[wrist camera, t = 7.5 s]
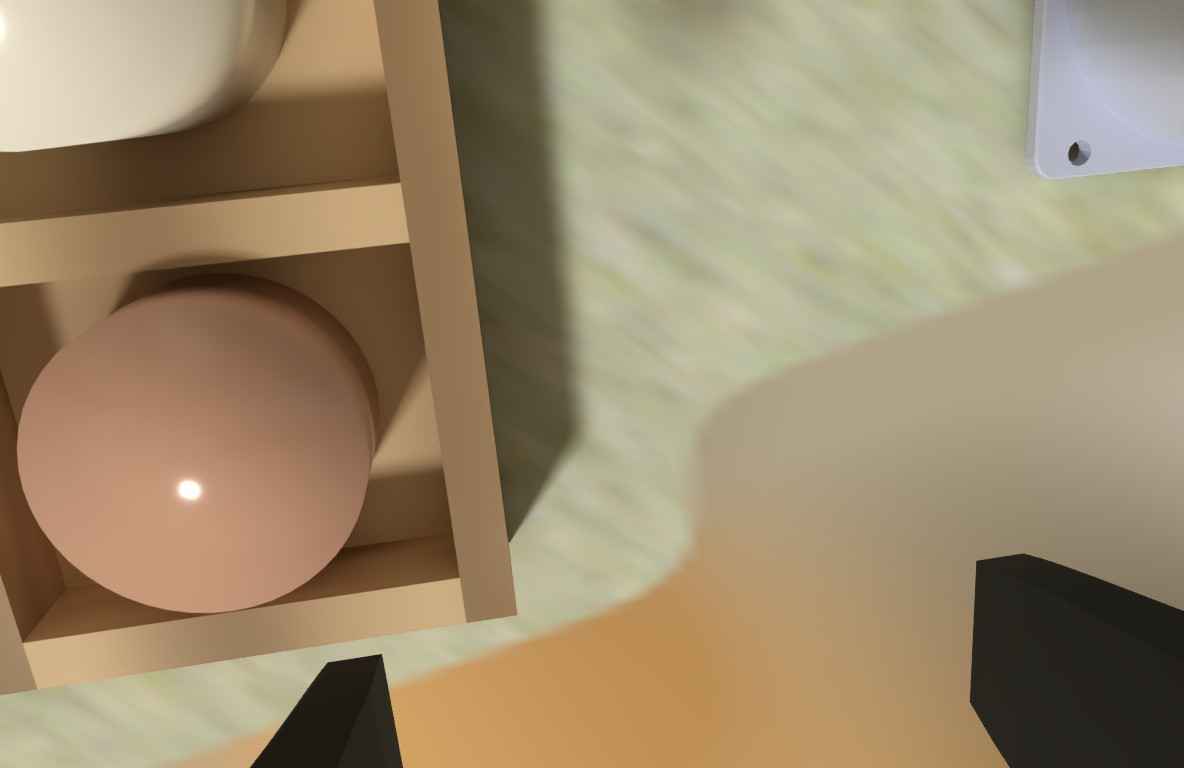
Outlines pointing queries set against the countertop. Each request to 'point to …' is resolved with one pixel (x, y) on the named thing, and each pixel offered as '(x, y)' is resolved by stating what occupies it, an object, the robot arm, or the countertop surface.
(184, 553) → the pinkish tan dome
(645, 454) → the countertop surface
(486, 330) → the countertop surface
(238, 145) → the tray
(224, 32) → the cream cylinder
